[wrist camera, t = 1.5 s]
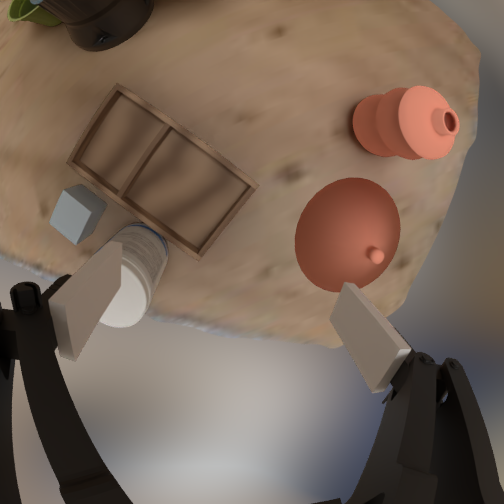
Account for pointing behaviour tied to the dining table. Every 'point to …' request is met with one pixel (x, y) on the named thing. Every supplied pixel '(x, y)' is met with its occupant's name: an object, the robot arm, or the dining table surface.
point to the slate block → (77, 213)
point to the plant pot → (30, 13)
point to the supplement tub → (136, 274)
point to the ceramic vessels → (371, 190)
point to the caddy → (160, 172)
